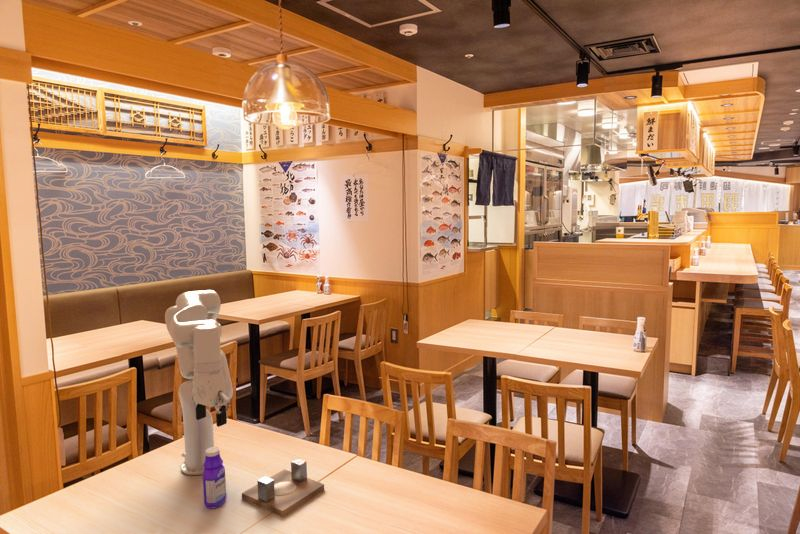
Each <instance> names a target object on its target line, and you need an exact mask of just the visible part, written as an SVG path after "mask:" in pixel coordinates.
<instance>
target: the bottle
mask: <svg viewBox="0 0 800 534" xmlns="http://www.w3.org/2000/svg"><path fill="white" fill-rule="evenodd" d="M205 455H206V458H205V462H204V464H203V466H204V471H203V474H201V475H202V489H203V490H202V492H203V504H204V506H205V507H206V508H207V509H209V508H210V509H216V508H219V507H220V506H221V505H222V504H224V503H225V501H226V500H227V481H226V469H225V466H224V463H223V462H224V460H223V459H222V458H221V453H220V447H218V446H214V447H210V448H208V449H206V451H205Z"/></svg>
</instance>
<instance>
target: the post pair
mask: <svg viewBox="0 0 800 534" xmlns="http://www.w3.org/2000/svg"><path fill="white" fill-rule="evenodd" d="M307 471H308V470H307V461H306V460H303V459H301V458H295V459H293V460H292V461H290V472H291V477H292V480H294V481H297V482H299V483H301V482H303V481H304V480H306V479H307V478H308V472H307ZM256 483H257V484H258V499H259V500H262V501H264V502H266V503H268V502H270V501H271V500H273V499H275V491H274V480H273V479H271V478H270V477H268V476H262V477H261V478H259V479H258V480H257V481H256Z"/></svg>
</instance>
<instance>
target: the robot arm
mask: <svg viewBox="0 0 800 534" xmlns="http://www.w3.org/2000/svg"><path fill="white" fill-rule="evenodd" d="M220 311H221V298H220V295H219V293H218V292H217V291H215V290H213V289H206V290H205V289H204V290H192V291H191V290H190V291H185V292H183V293H181V294H179V295H178V296H177V298H176V300H175V305H172V306H169V308H167V309H166V311H165V313H164V321H165V322H164V323H165V326H166V329H167V332H168V333H169V336H170V338H171V340H172V342H173V343H174V345H175V349H176V356H177V361H178V366H179V367H178V368H179V372H180V374H181V376H182V377H183V378H185V379H188V380H186V381H184V382H182V383H181V384H180V385H179V387H178V397H179V401H180V406H181V411H182V421H183V435H184V437H183V438H184V451H185V452H182V453H181V457H183V458H184V462H183V463H182V464H181V466H180V467H181V472H182V473H184V474H185V475H189V476H197V475H198V476H199V475H200V476H201V475H203V471H204V466H203V464H204V462H205V458H206V455H205V451H206V449H208V448H210V447H215V437H214V422H213V416H212V413H211V412H210V411H209V409H207V408H215V410H216V413H215V418H216V420H215V422H216V427H218V428H219V427H222V426H224V425H227V422H228V421H227V420H228V419H227V411H228V409H229V407H230V404H231V398H232V397H233V393H234V390H233V383H232V379H231V374H230V368H229V364H228V359H227V356H226V354H225V352H224V351H223V350H222V348H221V338H222V325H221V324H220V323H219V322H218V320H217V318H218V317H219V313H220ZM206 407H207V408H206Z"/></svg>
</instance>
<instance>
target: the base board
mask: <svg viewBox="0 0 800 534" xmlns="http://www.w3.org/2000/svg"><path fill="white" fill-rule="evenodd" d="M269 478H271V479H273V480H274V491H275V499H273V500H271V501H270V502H268V503H266V502H264V501H262V500H259V499H258V483H257V484H255V485H253V486H252V487H250V488H248V489H247V490H245V491H243V492H241V500H243V501H244V502H247V503H250V504H252V505H255V506H257V507H258V508H261V509H262V510H265V511H268V512H270V513H272V514H275V515H276V516H279V517H281V518H284V517H286V516H288V515H289V514H291V512H293V511H295V510H296V509H298V508H299V507H301V506H302V505H304V504H305V503H308V501H310V500H311V499H313V498H315V497H316V496H318V495H319V494H320V493H322V492H324V491H325V483H321V482H320V481H316V480H314V479H310V478H308V477H307V479H306V480H304V481H303V482H301V483H299V482H297V481H294V480H292V477H291V470H287V469H286V468H285V469H283V470H281V471H279V472H277V473H274V474H273V475H271V476H269Z"/></svg>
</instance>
